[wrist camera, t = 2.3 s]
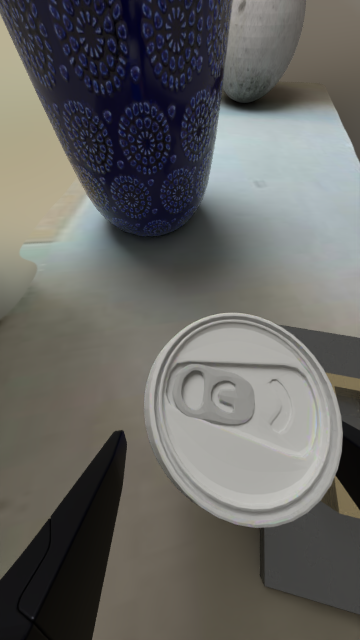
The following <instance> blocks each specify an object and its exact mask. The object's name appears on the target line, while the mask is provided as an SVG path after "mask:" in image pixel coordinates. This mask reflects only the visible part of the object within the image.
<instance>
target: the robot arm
mask: <svg viewBox="0 0 360 640" xmlns="http://www.w3.org/2000/svg"><path fill="white" fill-rule="evenodd" d="M341 421H342V420H341ZM342 431H343V438H342V453H341V457H340V462H339V466H338V470H337V472H336V475H335V476H336V477H337V478H338V480H339V481H340V483H341V484H342V486H343V487H344V489H345V490H346V491H347V493H348V494H349V496H350V497H351V499H352V500H353V501H354V503H355V504H356V506H357V507H358V509H359V510H360V430H359V429H357V428H355V427H353V426H351V425H350V424H348V423H346V422H344V421H342ZM126 450H127V441H126V438H125V434H124V431H123V430H119V431H115V432H113V434H112V435H111V436H110V438H109V439H108V440H107V442H106V443H105V444H104V446H103V447H102V448H101V450H100V451H99V452H98V454H97V455H96V456H95V458H94V459H93V460H92V462H91V463H90V464H89V466H88V467H87V469H86V470H85V471H84V473H83V474H82V475H81V477H80V478H79V479H78V481H77V482H76V483H75V485H74V486H73V487H72V489H71V490H70V491H69V493H68V494H67V495H66V497H65V498H64V499H63V501H62V502H61V503H60V505H59V506H58V507H57V509H56V510H55V511H54V513H53V514H52V515H51V519H48V521H47V522H46V523H45V525H44V526H43V527H42V529H41V530H40V531H39V532H38V534H37V535H36V536H35V538H34V539H33V540H32V542H31V543H30V544H29V545H28V547H27V548H26V549H25V551H24V552H23V553H22V554H21V556H20V557H19V558H18V559H17V560H16V562H15V563H14V564H13V565H12V567H11V568H10V569H9V570H8V571H7V573H6V574H5V575H4V576H3V578H2V579H1V580H0V640H92V637H93V632H94V627H95V622H96V617H97V612H98V607H99V602H100V597H101V592H102V587H103V582H104V577H105V572H106V567H107V562H108V557H109V552H110V547H111V542H112V537H113V532H114V527H115V522H116V517H117V512H118V507H119V502H120V497H121V492H122V486H123V478H124V469H125V460H126Z"/></svg>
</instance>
